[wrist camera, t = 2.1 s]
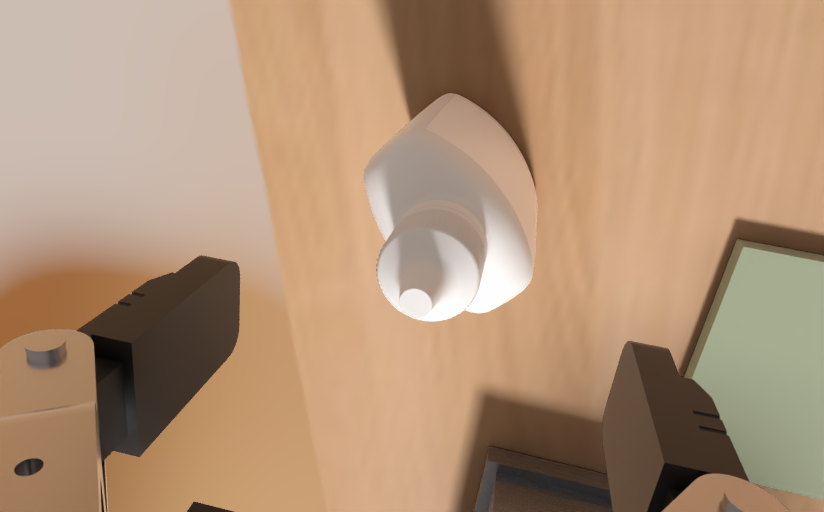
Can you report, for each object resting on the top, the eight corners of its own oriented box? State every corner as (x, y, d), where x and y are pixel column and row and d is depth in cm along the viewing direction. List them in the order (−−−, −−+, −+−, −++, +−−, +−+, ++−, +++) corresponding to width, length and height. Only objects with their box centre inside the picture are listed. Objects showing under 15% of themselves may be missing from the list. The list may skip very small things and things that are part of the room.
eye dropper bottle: (524, 78, 22) (504, 156, 11) (540, 225, 24) (536, 413, 13) (406, 97, 23) (284, 185, 12) (432, 236, 25) (345, 419, 14)
